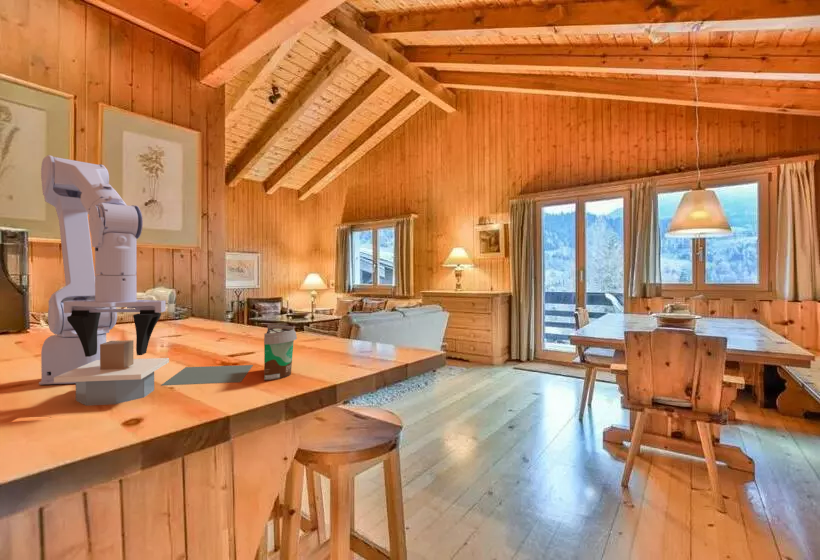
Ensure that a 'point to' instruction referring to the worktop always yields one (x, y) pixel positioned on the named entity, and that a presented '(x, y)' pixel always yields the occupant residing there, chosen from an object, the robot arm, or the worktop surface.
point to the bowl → (113, 390)
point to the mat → (209, 375)
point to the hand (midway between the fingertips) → (116, 354)
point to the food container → (278, 352)
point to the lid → (114, 365)
